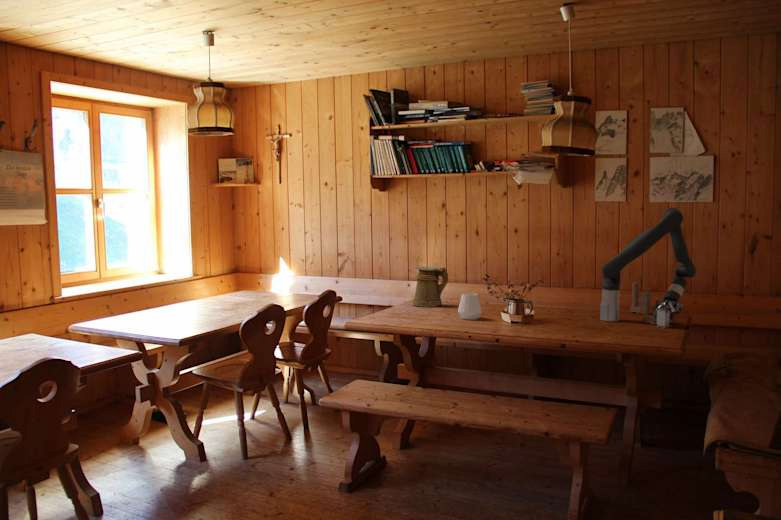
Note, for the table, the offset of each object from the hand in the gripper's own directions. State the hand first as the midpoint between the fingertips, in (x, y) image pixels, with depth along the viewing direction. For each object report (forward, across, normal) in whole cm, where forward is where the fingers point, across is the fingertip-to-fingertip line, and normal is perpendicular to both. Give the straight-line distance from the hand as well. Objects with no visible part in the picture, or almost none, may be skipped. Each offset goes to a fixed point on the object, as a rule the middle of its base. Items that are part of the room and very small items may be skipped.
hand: (662, 318), depth 354 cm
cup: (+42, +86, +35) cm, 102 cm away
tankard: (+30, +138, +23) cm, 143 cm away
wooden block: (-20, +32, -28) cm, 47 cm away
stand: (-4, +8, -12) cm, 15 cm away
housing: (+3, 0, -4) cm, 5 cm away
